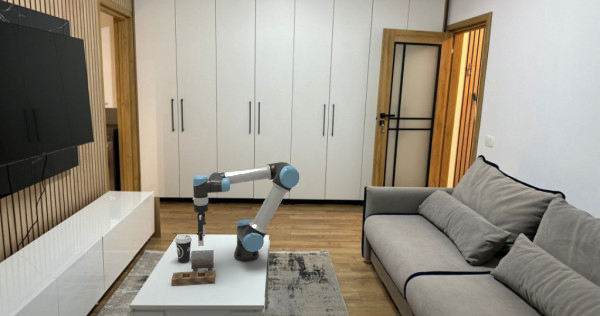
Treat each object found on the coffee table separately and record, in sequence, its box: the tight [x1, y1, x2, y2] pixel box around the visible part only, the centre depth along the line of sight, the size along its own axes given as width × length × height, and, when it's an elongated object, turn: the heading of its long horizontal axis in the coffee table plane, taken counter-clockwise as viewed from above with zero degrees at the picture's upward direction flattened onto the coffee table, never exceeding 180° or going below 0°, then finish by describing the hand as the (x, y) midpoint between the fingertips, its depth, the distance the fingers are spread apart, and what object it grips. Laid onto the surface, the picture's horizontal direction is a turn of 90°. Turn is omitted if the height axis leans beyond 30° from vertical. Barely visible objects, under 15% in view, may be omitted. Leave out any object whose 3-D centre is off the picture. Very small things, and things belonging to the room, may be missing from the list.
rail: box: [170, 269, 216, 287], centre depth 214 cm, size 22×8×4 cm, turn 100°
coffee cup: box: [174, 233, 193, 264], centre depth 237 cm, size 10×10×15 cm
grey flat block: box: [190, 249, 215, 272], centre depth 224 cm, size 12×4×12 cm, turn 100°
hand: (201, 240), depth 222 cm, fingers open, 13 cm apart
